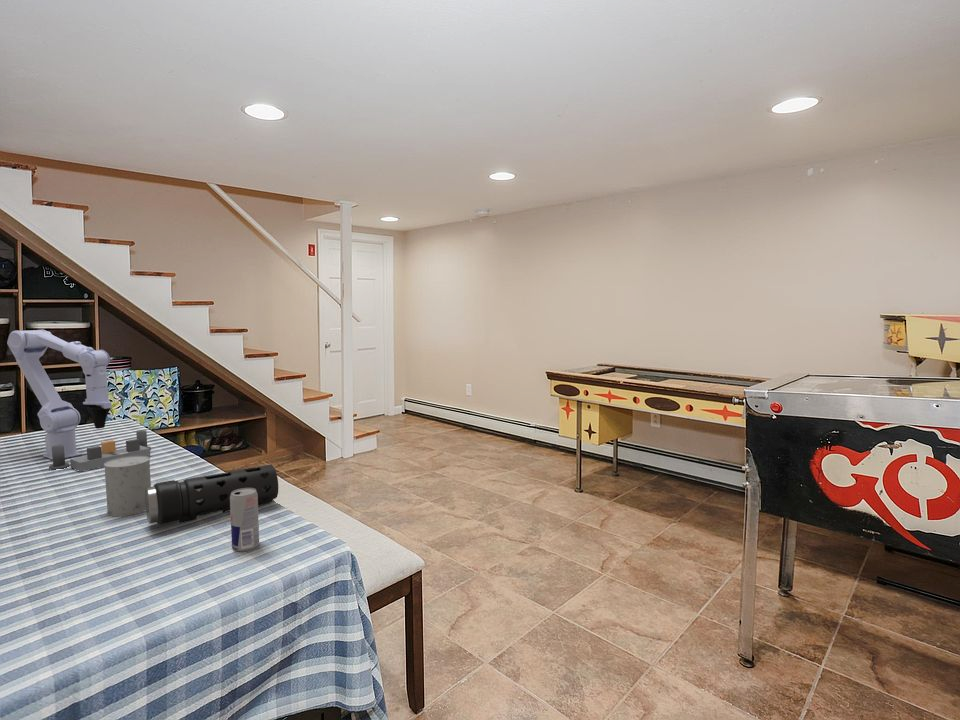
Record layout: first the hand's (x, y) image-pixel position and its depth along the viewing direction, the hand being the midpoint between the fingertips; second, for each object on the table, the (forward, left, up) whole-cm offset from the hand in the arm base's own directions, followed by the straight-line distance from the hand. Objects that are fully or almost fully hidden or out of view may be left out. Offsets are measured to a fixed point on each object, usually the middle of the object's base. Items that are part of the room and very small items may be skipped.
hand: (100, 427), depth 174 cm
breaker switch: (+6, 0, -7) cm, 9 cm away
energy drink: (+98, -11, -11) cm, 99 cm away
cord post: (+1, +12, -10) cm, 16 cm away
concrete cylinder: (+55, -15, -11) cm, 58 cm away
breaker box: (+8, 0, -10) cm, 13 cm away
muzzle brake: (+76, -5, -11) cm, 77 cm away
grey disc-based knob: (+1, -12, -10) cm, 16 cm away
